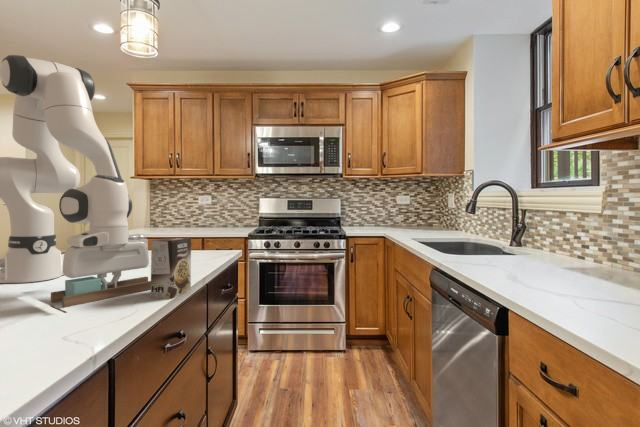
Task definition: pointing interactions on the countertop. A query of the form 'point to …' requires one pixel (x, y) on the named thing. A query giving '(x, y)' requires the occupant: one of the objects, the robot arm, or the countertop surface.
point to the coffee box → (170, 267)
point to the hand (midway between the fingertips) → (109, 289)
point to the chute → (102, 293)
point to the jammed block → (82, 285)
